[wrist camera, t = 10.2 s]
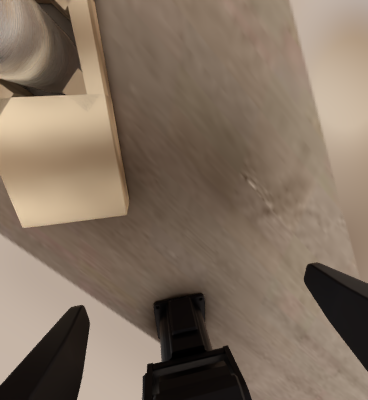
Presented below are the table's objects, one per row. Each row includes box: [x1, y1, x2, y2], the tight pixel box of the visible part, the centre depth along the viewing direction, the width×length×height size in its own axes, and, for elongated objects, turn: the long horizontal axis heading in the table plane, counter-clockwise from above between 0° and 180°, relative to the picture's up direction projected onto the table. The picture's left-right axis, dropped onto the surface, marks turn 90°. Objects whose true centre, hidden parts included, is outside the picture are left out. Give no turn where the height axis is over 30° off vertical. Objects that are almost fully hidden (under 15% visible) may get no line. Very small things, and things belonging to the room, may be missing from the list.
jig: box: [0, 0, 129, 228], centre depth 14 cm, size 16×8×3 cm, turn 3°
